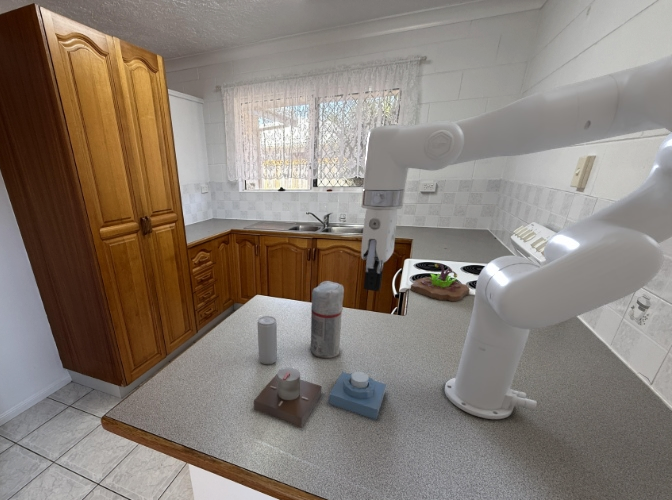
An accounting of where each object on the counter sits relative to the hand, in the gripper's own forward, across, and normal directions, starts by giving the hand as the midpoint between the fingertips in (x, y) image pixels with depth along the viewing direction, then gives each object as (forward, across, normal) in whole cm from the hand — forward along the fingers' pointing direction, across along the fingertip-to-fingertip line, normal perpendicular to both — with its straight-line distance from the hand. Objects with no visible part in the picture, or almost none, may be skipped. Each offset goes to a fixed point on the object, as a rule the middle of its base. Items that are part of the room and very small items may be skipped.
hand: (372, 288), depth 67 cm
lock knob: (+21, -16, +12) cm, 29 cm away
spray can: (+23, +7, +12) cm, 27 cm away
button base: (+23, -8, -1) cm, 24 cm away
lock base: (+23, -16, +12) cm, 31 cm away
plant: (+23, +71, -13) cm, 76 cm away
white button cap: (+19, -8, -1) cm, 21 cm away
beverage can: (+23, -4, +24) cm, 34 cm away
